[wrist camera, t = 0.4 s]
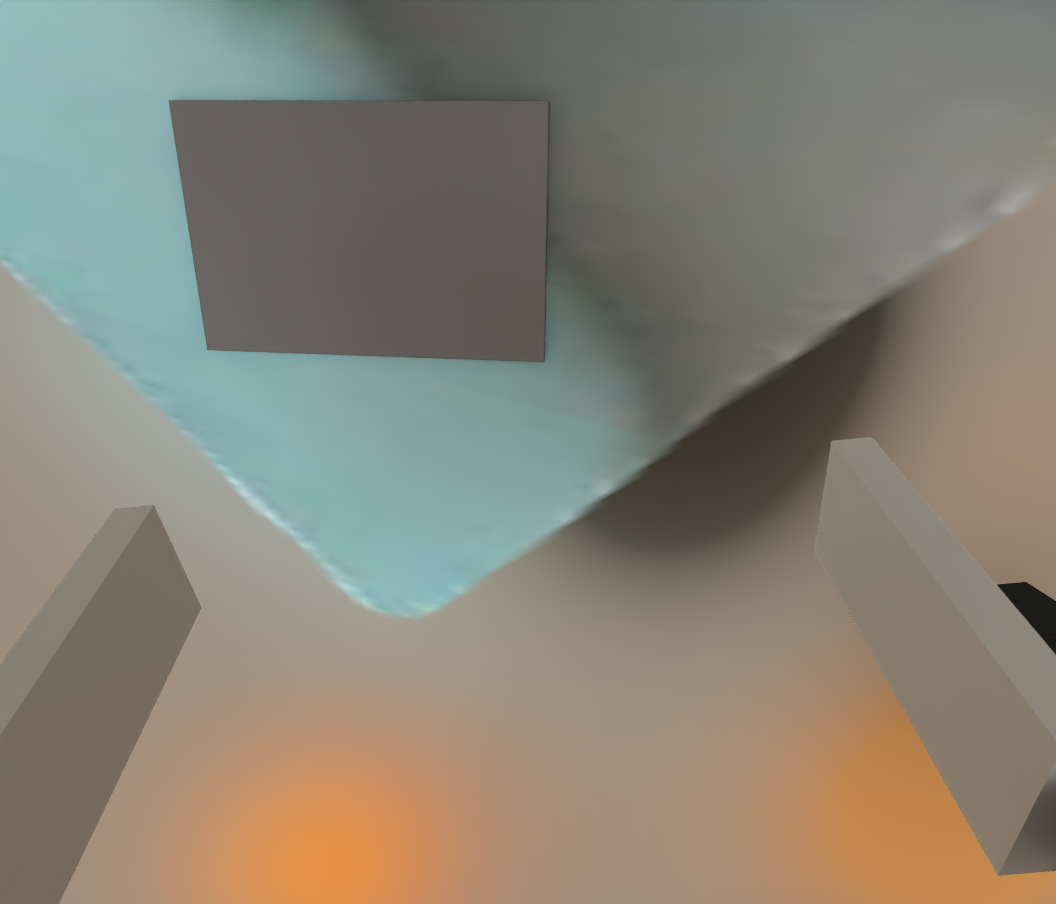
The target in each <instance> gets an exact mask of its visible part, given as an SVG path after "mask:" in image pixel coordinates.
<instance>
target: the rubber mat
mask: <svg viewBox="0 0 1056 904" xmlns="http://www.w3.org/2000/svg"><path fill="white" fill-rule="evenodd" d="M169 105H170V111H171V118H172V124H173V131H174V137H175V144H176V150H177V156H178V163H179V169H180V176H181V182H182V189H183V195H184V202H185V208H186V215H187V221H188V228H189V234H190V240H191V247H192V253H193V260H194V266H195V273H196V279H197V286H198V292H199V299H200V305H201V312H202V318H203V324H204V331H205V337H206V344H207V350H220V351H248V352H276V353H304V354H332V355H360V356H388V357H416V358H444V359H472V360H500V361H528V362H544V360H545V315H546V263H547V210H548V157H549V105H550V102H549V101H195V100H169Z"/></svg>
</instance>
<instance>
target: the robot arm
mask: <svg viewBox="0 0 1056 904" xmlns="http://www.w3.org/2000/svg"><path fill="white" fill-rule="evenodd" d="M814 553H815V554H816V556H817V558H818V560H819V561H820V563H821V565H822V567H823V569H824V570H825V572H826V574H827V576H828V577H829V579H830V581H831V583H832V584H833V586H834V588H835V589H836V591H837V593H838V595H839V597H840V598H841V600H842V602H843V604H844V606H845V607H846V609H847V611H848V613H849V614H850V616H851V618H852V620H853V621H854V623H855V625H856V627H857V628H858V630H859V631H860V634H861V636H862V637H863V639H864V641H865V642H866V644H867V646H868V648H869V650H870V651H871V653H872V655H873V657H874V658H875V660H876V662H877V664H878V665H879V667H880V669H881V671H882V672H883V674H884V676H885V678H886V679H887V681H888V683H889V685H890V686H891V688H892V690H893V692H894V693H895V695H896V697H897V699H898V701H899V702H900V704H901V706H902V708H903V709H904V711H905V713H906V715H907V716H908V718H909V720H910V722H911V724H912V725H913V727H914V729H915V731H916V732H917V734H918V736H919V738H920V739H921V741H922V743H923V745H924V746H925V748H926V750H927V752H928V753H929V755H930V757H931V758H932V761H933V762H934V764H935V766H936V768H937V769H938V771H939V773H940V774H941V776H942V778H943V780H944V782H945V783H946V785H947V787H948V789H949V790H950V792H951V794H952V796H953V798H954V799H955V801H956V803H957V805H958V806H959V808H960V810H961V812H962V813H963V815H964V817H965V819H966V820H967V822H968V824H969V826H970V827H971V829H972V831H973V833H974V835H975V836H976V838H977V840H978V841H979V843H980V845H981V847H982V849H983V850H984V852H985V854H986V856H987V857H988V859H989V861H990V863H991V864H992V866H993V868H994V870H995V871H996V873H997V875H998V876H999V875H1010V874H1022V873H1035V872H1045V871H1056V601H1055V600H1053V599H1052V598H1050V597H1048V596H1047V595H1045V594H1044V593H1042V592H1041V591H1039V590H1038V589H1036V588H1034V587H1033V586H1031V585H1030V584H1028V583H1027V582H1021V583H1010V584H999V585H996V583H995V582H994V581H993V580H992V579H991V577H990V576H989V575H988V574H987V573H986V572H985V570H984V569H983V568H982V567H981V566H980V565H979V563H978V562H977V561H976V560H975V559H974V557H973V556H972V555H971V554H970V553H969V551H968V550H967V549H966V548H965V547H964V546H963V545H962V543H961V542H960V541H959V540H958V538H957V537H956V536H955V535H954V534H953V532H952V531H951V530H950V529H949V528H948V527H947V525H946V524H945V523H944V522H943V521H942V519H941V518H940V517H939V516H938V515H937V514H936V513H935V511H934V510H933V509H932V508H931V507H930V505H929V504H928V503H927V502H926V501H925V499H924V498H923V497H922V496H921V495H920V494H919V492H918V491H917V490H916V489H915V488H914V486H913V485H912V484H911V483H910V482H909V480H908V479H907V478H906V477H905V476H904V475H903V473H902V472H901V471H900V470H899V469H898V467H897V466H896V465H895V464H894V463H893V461H892V460H891V459H890V458H889V457H888V456H887V454H886V453H885V452H884V451H883V450H882V449H881V447H880V446H879V445H878V444H877V443H876V441H875V440H874V439H873V438H872V437H867V438H857V439H847V440H837V441H832V442H831V448H830V454H829V460H828V466H827V472H826V478H825V484H824V491H823V496H822V503H821V509H820V515H819V521H818V528H817V533H816V540H815V545H814ZM200 609H201V606H200V604H199V601H198V599H197V597H196V595H195V593H194V591H193V588H192V586H191V584H190V582H189V580H188V578H187V575H186V573H185V571H184V569H183V567H182V565H181V562H180V560H179V558H178V556H177V554H176V552H175V550H174V548H173V545H172V543H171V541H170V539H169V537H168V535H167V532H166V530H165V528H164V526H163V524H162V522H161V520H160V517H159V515H158V513H157V511H156V509H155V507H154V505H151V506H140V507H130V508H120V509H115V510H114V511H113V512H112V514H111V515H110V516H109V518H108V519H107V520H106V522H105V523H104V525H103V526H102V527H101V529H100V530H99V531H98V533H97V534H96V535H95V537H94V538H93V539H92V541H91V542H90V543H89V545H88V546H87V547H86V549H85V550H84V552H83V553H82V554H81V556H80V557H79V558H78V560H77V561H76V562H75V564H74V565H73V566H72V568H71V569H70V570H69V572H68V573H67V575H66V576H65V577H64V578H63V580H62V581H61V583H60V584H59V585H58V587H57V588H56V589H55V591H54V592H53V594H52V595H51V596H50V597H49V599H48V600H47V601H46V603H45V604H44V605H43V607H42V608H41V610H40V611H39V612H38V614H37V615H36V616H35V618H34V619H33V620H32V622H31V623H30V624H29V626H28V627H27V629H26V630H25V631H24V633H23V634H22V635H21V637H20V638H19V639H18V641H17V642H16V643H15V645H14V646H13V647H12V649H11V650H10V651H9V653H8V654H7V655H6V657H5V658H4V660H3V661H2V662H1V664H0V904H59V903H60V900H61V898H62V896H63V894H64V892H65V890H66V888H67V886H68V884H69V882H70V880H71V878H72V875H73V873H74V871H75V869H76V867H77V865H78V863H79V861H80V859H81V857H82V855H83V853H84V851H85V848H86V846H87V844H88V842H89V840H90V838H91V836H92V834H93V832H94V830H95V828H96V825H97V824H98V821H99V819H100V817H101V815H102V813H103V811H104V809H105V806H106V805H107V803H108V801H109V798H110V797H111V794H112V792H113V790H114V788H115V786H116V784H117V782H118V780H119V778H120V776H121V773H122V771H123V769H124V767H125V765H126V763H127V761H128V759H129V757H130V755H131V753H132V751H133V749H134V746H135V745H136V742H137V740H138V738H139V736H140V734H141V732H142V730H143V728H144V726H145V724H146V722H147V720H148V717H149V715H150V713H151V711H152V709H153V707H154V705H155V703H156V701H157V699H158V697H159V695H160V692H161V690H162V688H163V686H164V684H165V682H166V680H167V678H168V676H169V674H170V672H171V670H172V668H173V666H174V663H175V661H176V659H177V657H178V655H179V653H180V651H181V649H182V647H183V645H184V643H185V641H186V639H187V636H188V634H189V632H190V630H191V628H192V626H193V624H194V622H195V620H196V618H197V616H198V614H199V611H200Z"/></svg>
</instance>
